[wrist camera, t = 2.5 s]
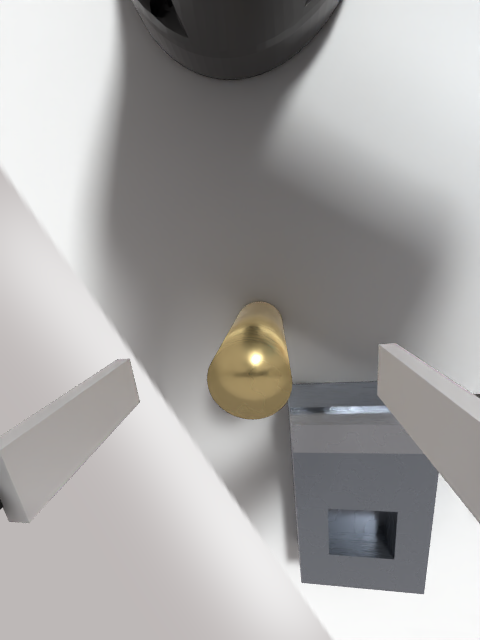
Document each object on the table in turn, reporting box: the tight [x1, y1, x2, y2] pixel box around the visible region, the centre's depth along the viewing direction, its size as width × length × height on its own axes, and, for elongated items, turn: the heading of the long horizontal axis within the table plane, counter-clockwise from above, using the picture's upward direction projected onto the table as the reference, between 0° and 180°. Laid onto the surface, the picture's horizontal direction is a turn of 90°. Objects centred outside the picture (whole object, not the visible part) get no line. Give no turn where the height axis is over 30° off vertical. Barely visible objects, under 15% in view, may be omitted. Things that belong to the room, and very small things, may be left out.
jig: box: [288, 381, 439, 594], centre depth 21 cm, size 20×11×5 cm, turn 6°
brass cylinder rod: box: [207, 301, 292, 419], centre depth 16 cm, size 4×4×10 cm
